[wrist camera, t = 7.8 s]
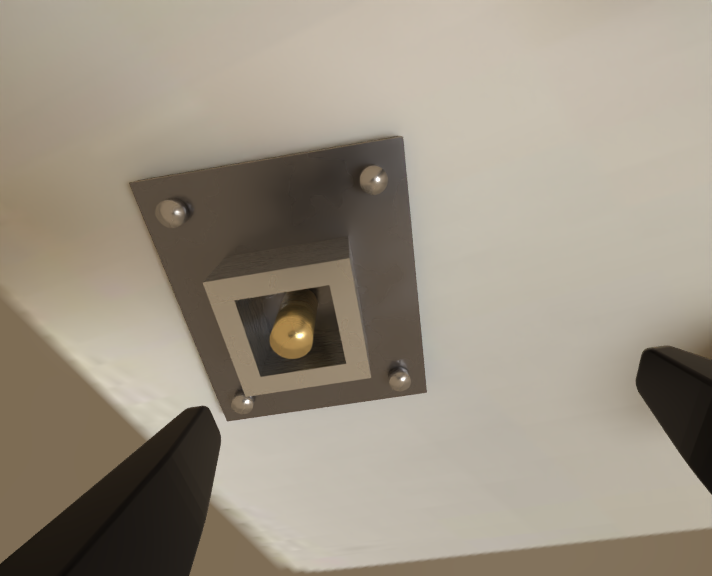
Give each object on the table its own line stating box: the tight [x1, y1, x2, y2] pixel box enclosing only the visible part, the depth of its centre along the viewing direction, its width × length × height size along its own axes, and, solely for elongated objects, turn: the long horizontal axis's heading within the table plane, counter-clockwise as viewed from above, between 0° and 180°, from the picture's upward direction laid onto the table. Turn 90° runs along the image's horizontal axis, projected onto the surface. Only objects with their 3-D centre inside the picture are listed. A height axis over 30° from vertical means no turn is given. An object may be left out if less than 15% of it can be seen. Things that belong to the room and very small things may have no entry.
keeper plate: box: [129, 136, 427, 421], centre depth 17 cm, size 12×14×4 cm
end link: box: [203, 237, 371, 397], centre depth 17 cm, size 6×6×3 cm
